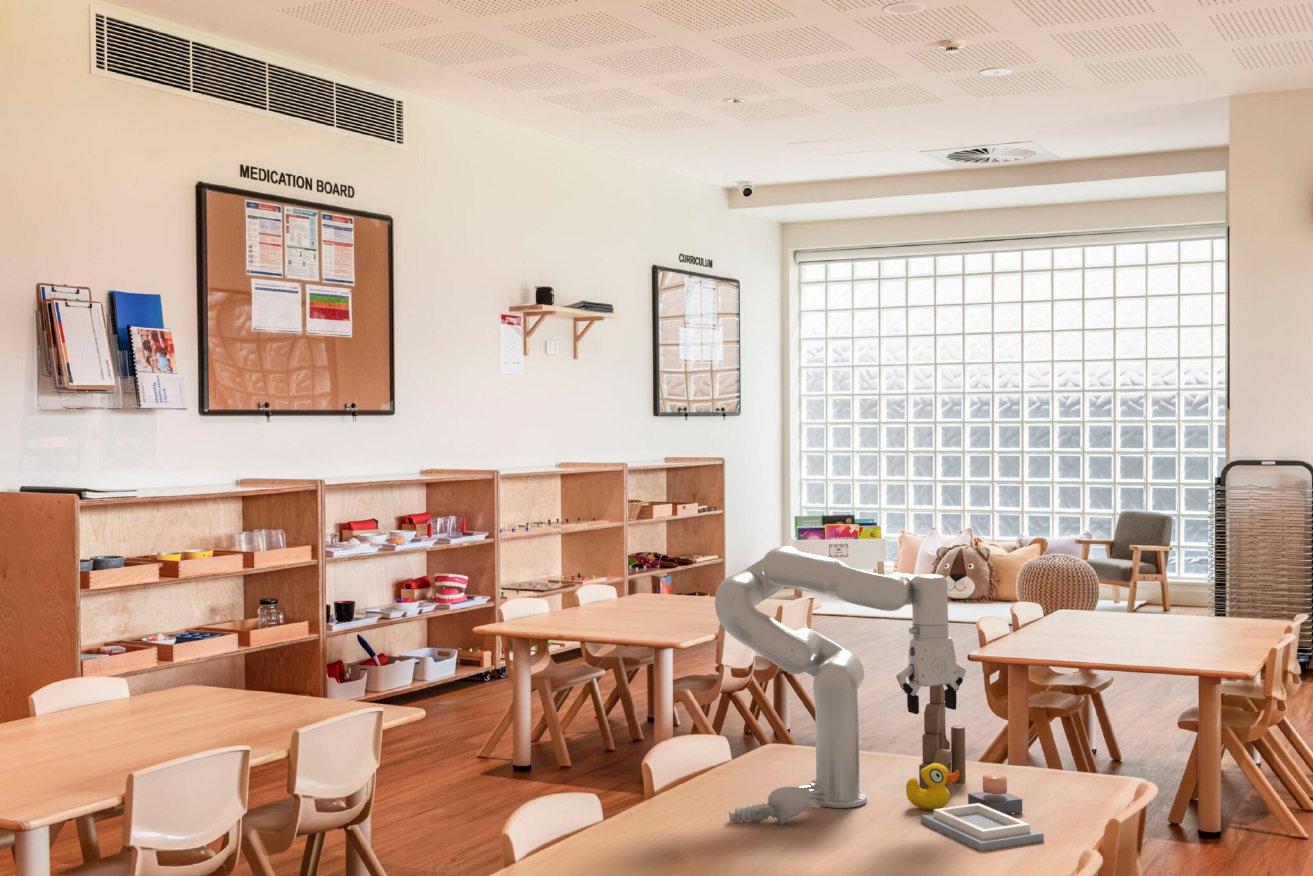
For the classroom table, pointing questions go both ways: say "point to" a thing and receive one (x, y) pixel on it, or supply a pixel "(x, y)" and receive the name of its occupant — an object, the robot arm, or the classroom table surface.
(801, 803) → the toy creature
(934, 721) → the wooden toy
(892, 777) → the classroom table surface
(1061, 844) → the classroom table surface
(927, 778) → the duckling
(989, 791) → the button
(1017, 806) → the button base
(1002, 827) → the tray
